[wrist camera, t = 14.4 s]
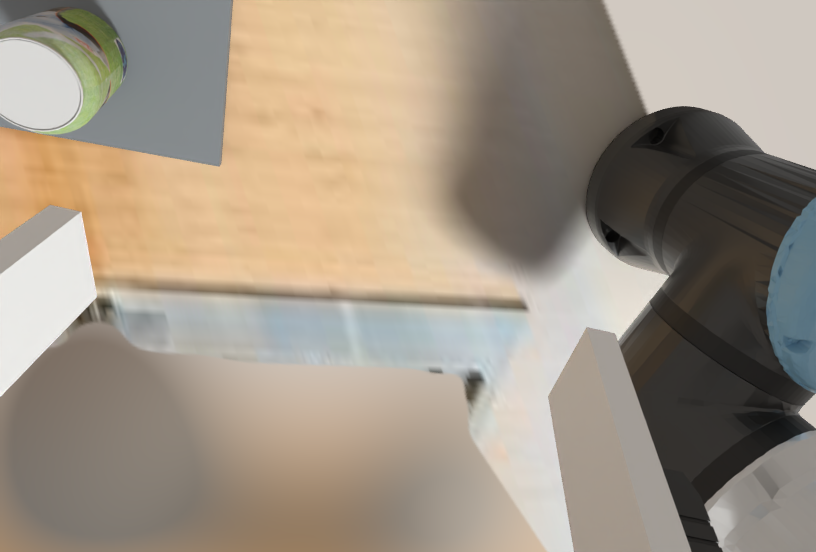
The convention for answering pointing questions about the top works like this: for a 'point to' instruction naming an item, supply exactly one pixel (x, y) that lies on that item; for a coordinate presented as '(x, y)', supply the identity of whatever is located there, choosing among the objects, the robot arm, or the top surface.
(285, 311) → the top surface
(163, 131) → the rubber mat
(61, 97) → the beverage can
